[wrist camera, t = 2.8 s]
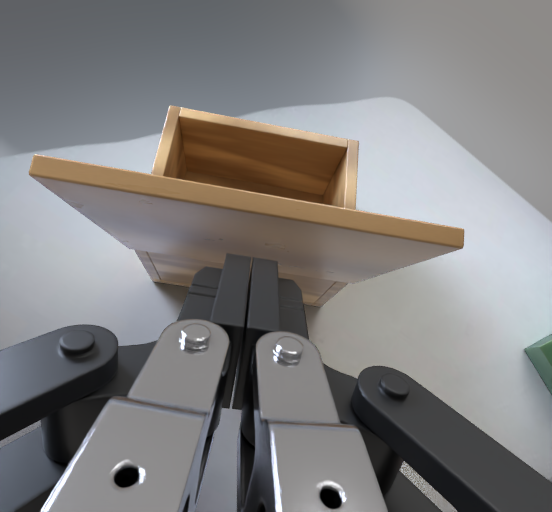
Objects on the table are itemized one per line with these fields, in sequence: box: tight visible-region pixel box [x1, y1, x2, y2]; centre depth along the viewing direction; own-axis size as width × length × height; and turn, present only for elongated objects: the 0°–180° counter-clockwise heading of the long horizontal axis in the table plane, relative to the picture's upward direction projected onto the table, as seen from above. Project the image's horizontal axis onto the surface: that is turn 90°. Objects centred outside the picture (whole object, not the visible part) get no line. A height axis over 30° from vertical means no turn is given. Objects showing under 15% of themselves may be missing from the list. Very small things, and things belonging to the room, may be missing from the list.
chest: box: [135, 106, 359, 307], centre depth 29 cm, size 11×14×8 cm
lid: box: [29, 154, 464, 284], centre depth 17 cm, size 11×14×1 cm
